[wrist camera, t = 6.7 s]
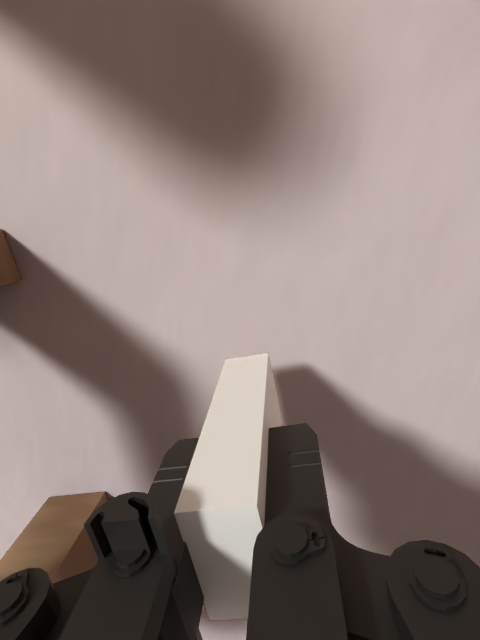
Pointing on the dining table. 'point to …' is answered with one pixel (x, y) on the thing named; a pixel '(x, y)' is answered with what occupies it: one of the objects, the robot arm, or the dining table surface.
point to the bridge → (51, 509)
